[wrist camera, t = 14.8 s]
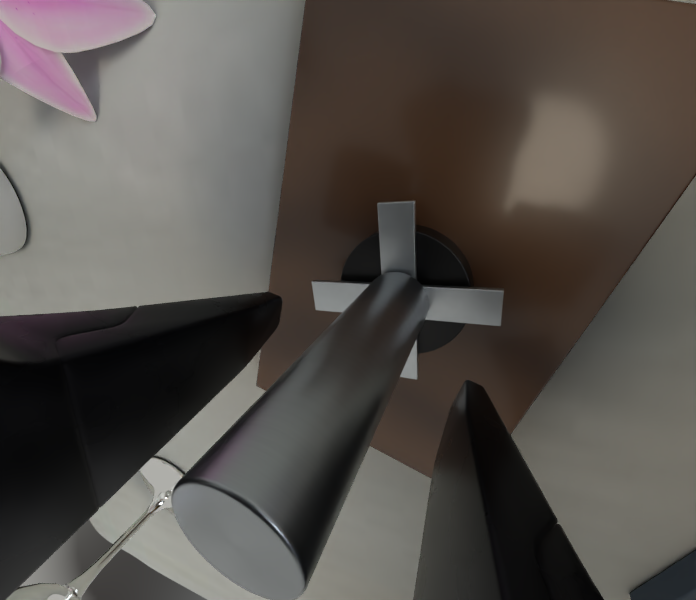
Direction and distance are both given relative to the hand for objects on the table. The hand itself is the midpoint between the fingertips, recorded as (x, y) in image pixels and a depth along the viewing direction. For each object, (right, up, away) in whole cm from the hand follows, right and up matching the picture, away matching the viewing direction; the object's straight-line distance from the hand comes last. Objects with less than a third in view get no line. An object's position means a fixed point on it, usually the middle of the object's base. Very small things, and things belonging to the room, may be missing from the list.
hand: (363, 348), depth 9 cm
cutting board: (+2, +2, +5) cm, 6 cm away
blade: (+2, +2, +4) cm, 5 cm away
